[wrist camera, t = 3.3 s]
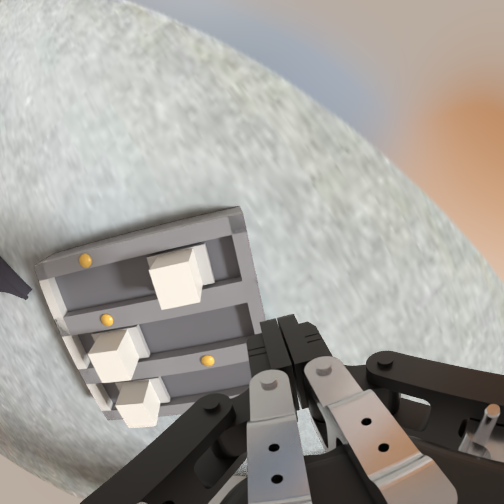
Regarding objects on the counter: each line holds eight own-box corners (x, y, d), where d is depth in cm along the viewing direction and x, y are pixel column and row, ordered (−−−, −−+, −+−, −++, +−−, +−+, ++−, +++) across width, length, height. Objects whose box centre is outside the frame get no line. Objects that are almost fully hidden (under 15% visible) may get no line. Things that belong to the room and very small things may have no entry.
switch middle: (138, 323, 27) (127, 347, 23) (150, 353, 28) (141, 379, 24) (93, 330, 27) (78, 354, 23) (106, 359, 28) (93, 384, 24)
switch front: (205, 242, 26) (202, 256, 22) (214, 279, 27) (213, 300, 23) (148, 255, 26) (135, 271, 22) (159, 291, 27) (149, 313, 23)
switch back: (159, 373, 29) (152, 401, 25) (170, 397, 30) (165, 425, 26) (116, 378, 29) (105, 405, 25) (128, 402, 30) (120, 428, 26)
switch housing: (239, 206, 29) (242, 213, 24) (275, 372, 34) (282, 397, 30) (53, 253, 28) (32, 266, 24) (115, 397, 33) (107, 421, 29)
